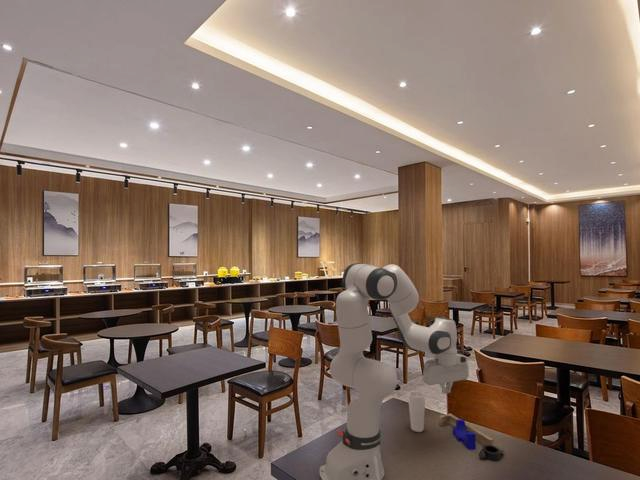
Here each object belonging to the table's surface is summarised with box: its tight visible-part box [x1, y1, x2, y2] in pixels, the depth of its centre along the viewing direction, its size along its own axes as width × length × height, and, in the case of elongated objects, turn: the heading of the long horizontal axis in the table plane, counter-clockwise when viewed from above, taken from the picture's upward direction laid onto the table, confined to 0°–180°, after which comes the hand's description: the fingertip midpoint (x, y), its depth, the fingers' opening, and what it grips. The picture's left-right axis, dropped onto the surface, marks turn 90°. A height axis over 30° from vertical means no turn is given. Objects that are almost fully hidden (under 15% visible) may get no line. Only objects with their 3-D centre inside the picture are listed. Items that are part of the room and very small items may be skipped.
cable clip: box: [452, 419, 477, 451], centre depth 142 cm, size 12×4×6 cm, turn 179°
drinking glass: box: [408, 390, 426, 433], centre depth 152 cm, size 7×7×15 cm
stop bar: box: [438, 413, 495, 447], centre depth 145 cm, size 6×24×4 cm, turn 21°
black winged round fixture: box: [478, 445, 505, 462], centre depth 131 cm, size 8×10×3 cm
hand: (446, 392), depth 142 cm, fingers closed
